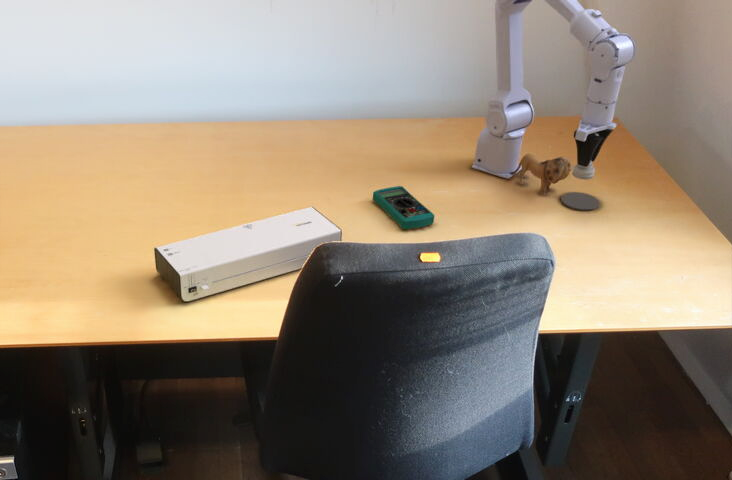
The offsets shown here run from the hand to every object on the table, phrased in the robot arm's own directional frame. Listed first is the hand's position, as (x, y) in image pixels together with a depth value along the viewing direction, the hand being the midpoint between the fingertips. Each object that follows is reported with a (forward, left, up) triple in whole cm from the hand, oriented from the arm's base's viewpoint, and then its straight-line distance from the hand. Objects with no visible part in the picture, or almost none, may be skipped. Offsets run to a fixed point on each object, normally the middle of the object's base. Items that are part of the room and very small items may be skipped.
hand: (585, 162), depth 179 cm
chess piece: (0, 0, -3) cm, 3 cm away
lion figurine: (-10, +3, -10) cm, 15 cm away
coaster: (0, +2, -10) cm, 10 cm away
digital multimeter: (-27, -27, -10) cm, 39 cm away
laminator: (-37, -65, -10) cm, 75 cm away
